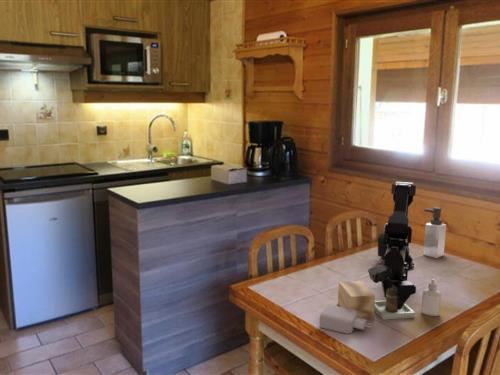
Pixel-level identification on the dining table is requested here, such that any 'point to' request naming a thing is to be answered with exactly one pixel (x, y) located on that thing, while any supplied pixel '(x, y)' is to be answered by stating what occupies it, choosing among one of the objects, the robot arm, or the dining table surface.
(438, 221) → the soap dispenser
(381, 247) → the milk frother
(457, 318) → the dining table surface
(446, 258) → the dining table surface
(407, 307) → the green tray
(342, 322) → the grey plastic bottle
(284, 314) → the dining table surface
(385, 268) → the robot arm
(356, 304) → the pine unit
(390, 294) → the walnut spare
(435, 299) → the eye dropper bottle
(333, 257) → the dining table surface
